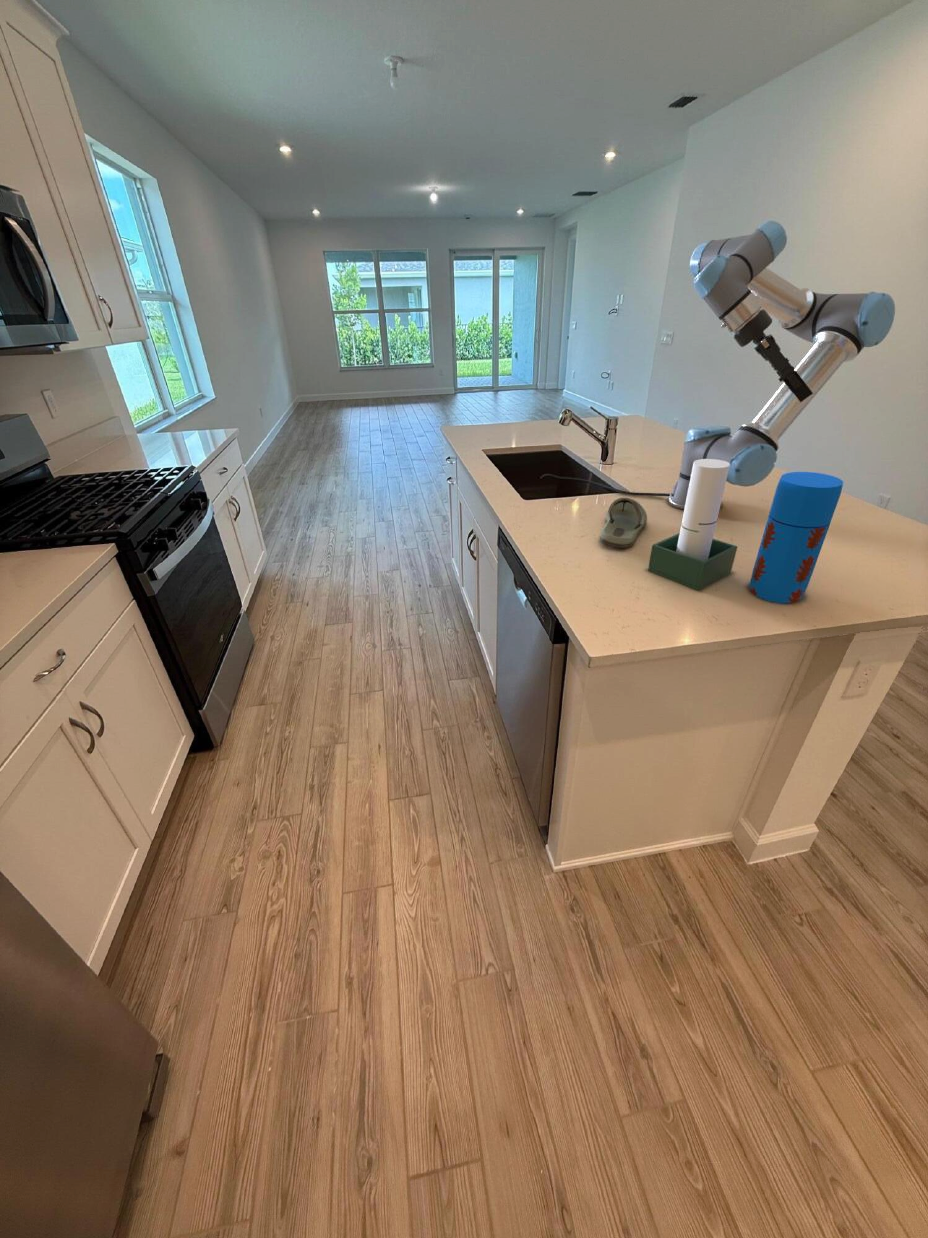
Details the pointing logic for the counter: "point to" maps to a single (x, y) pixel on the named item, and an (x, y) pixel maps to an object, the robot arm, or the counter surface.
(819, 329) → the robot arm
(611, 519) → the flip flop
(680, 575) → the tray
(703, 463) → the cylindrical container
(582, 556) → the counter surface
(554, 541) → the counter surface
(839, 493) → the thermos
